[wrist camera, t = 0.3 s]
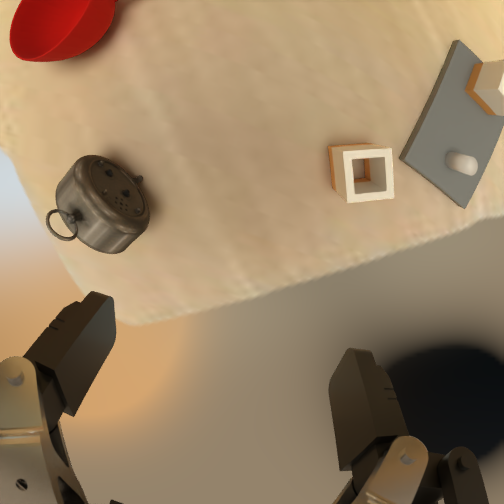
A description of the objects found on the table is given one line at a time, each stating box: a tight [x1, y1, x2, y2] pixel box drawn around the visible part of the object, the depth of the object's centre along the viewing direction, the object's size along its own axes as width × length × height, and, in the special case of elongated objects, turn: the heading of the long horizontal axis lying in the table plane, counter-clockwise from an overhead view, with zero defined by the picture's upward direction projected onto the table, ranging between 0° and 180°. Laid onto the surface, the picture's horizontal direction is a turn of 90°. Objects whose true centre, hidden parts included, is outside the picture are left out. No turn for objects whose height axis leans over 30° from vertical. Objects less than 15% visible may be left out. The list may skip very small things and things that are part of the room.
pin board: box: [399, 40, 504, 209], centre depth 24 cm, size 20×12×8 cm, turn 154°
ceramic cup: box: [10, 0, 118, 62], centre depth 20 cm, size 13×17×10 cm
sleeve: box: [328, 143, 394, 203], centre depth 29 cm, size 5×5×7 cm
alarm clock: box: [46, 155, 150, 254], centre depth 27 cm, size 11×5×16 cm, turn 37°
